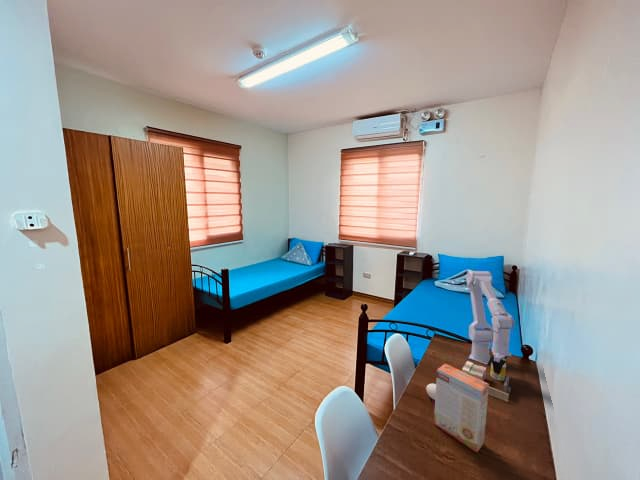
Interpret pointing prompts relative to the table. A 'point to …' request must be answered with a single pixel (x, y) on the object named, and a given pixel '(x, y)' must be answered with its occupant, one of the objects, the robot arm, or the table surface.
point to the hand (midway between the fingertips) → (498, 370)
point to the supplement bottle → (502, 373)
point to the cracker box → (461, 406)
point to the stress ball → (431, 391)
